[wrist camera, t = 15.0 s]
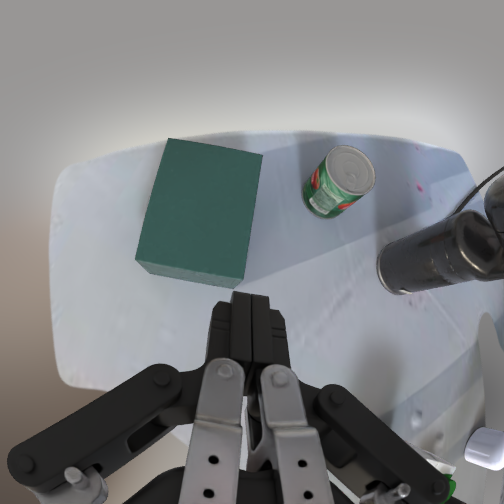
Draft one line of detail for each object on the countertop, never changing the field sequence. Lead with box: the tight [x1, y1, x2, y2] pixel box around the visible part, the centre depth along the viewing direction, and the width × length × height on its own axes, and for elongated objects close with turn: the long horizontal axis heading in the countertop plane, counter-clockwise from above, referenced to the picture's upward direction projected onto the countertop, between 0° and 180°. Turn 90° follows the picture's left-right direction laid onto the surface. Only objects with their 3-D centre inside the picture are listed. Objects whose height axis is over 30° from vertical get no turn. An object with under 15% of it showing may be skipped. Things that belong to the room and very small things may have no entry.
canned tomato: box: [302, 145, 376, 219], centre depth 45 cm, size 8×8×11 cm
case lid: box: [135, 138, 263, 281], centre depth 36 cm, size 16×13×1 cm
